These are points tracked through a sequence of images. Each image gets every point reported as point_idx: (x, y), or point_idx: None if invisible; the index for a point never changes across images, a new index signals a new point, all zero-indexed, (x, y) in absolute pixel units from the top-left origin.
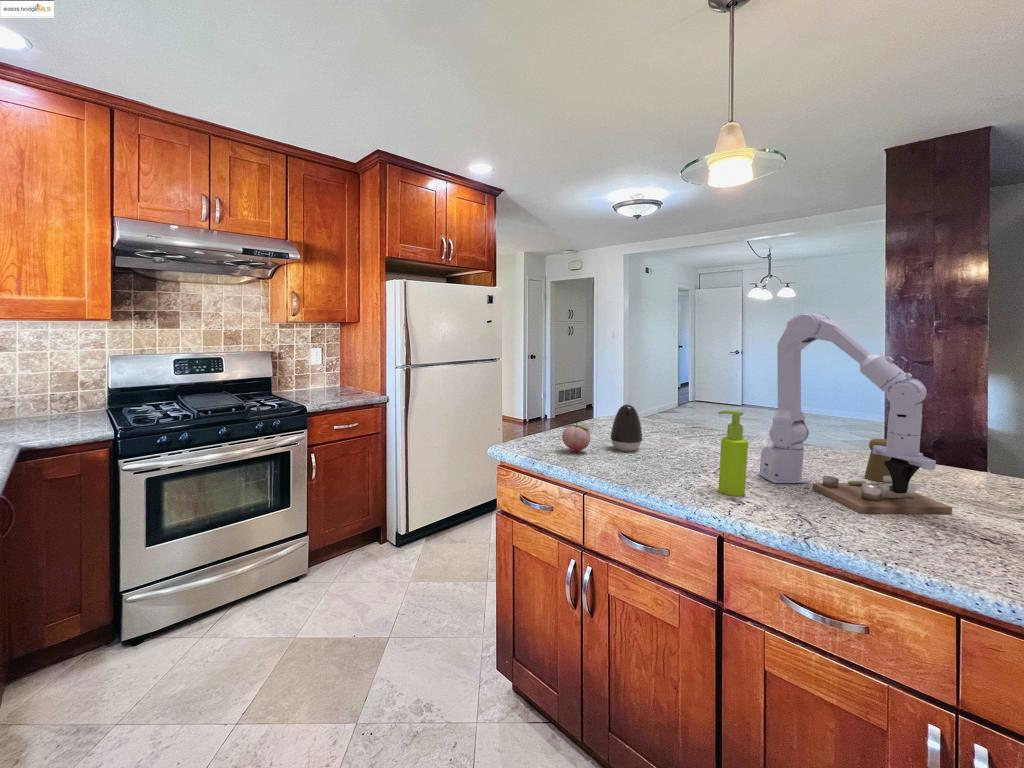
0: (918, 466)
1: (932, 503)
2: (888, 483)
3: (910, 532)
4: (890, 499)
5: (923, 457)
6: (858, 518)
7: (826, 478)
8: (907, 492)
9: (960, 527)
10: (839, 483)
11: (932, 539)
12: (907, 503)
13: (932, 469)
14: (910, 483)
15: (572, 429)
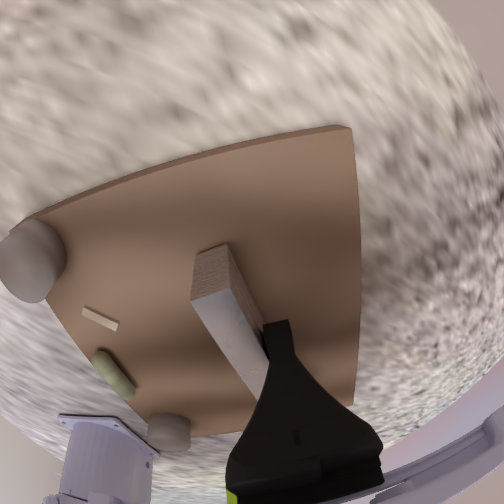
0: (379, 441)
1: (306, 195)
2: (251, 389)
3: (447, 333)
4: None
5: (446, 492)
6: (372, 394)
7: (180, 450)
8: (246, 294)
9: (452, 201)
10: (125, 400)
11: (476, 309)
12: (322, 304)
13: (502, 410)
14: (216, 304)
15: None
